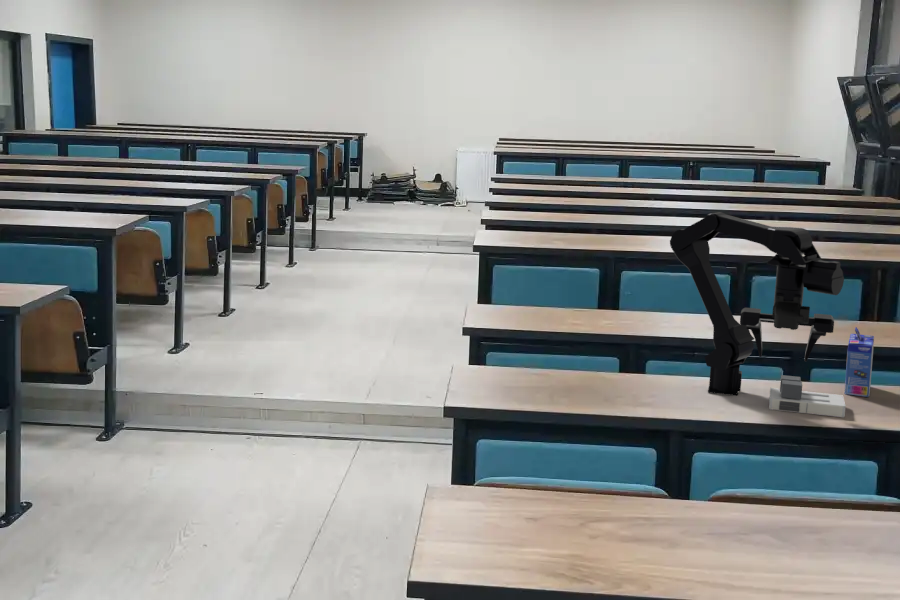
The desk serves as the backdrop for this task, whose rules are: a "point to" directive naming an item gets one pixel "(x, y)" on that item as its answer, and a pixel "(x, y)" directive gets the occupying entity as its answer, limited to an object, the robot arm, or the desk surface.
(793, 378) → the switch far
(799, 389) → the switch near
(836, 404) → the box
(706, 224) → the robot arm
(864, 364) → the ink cartridge box
